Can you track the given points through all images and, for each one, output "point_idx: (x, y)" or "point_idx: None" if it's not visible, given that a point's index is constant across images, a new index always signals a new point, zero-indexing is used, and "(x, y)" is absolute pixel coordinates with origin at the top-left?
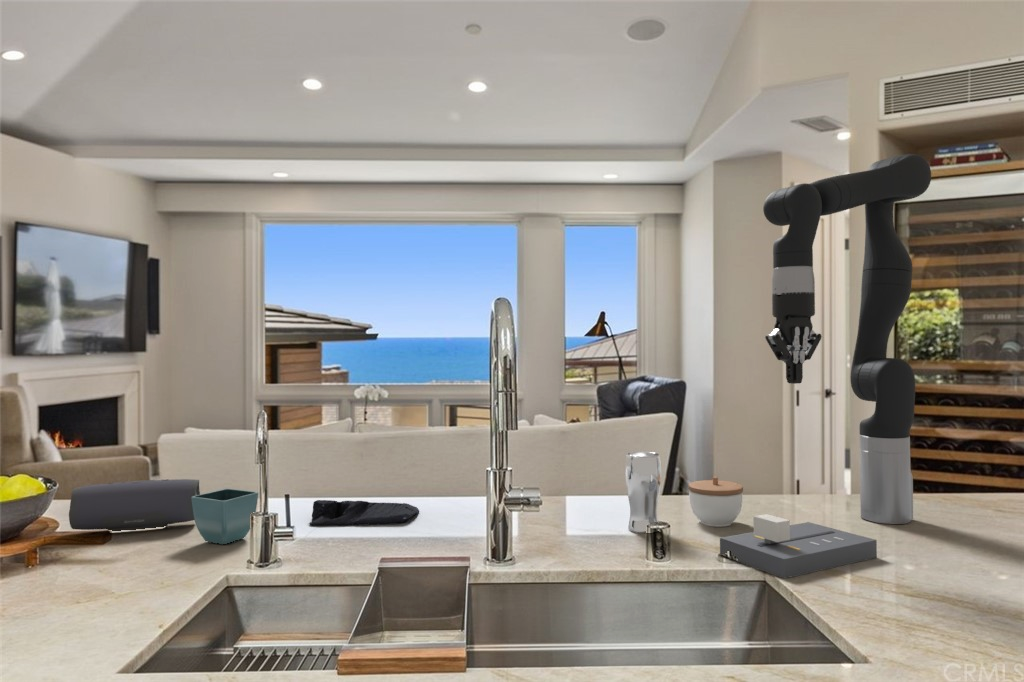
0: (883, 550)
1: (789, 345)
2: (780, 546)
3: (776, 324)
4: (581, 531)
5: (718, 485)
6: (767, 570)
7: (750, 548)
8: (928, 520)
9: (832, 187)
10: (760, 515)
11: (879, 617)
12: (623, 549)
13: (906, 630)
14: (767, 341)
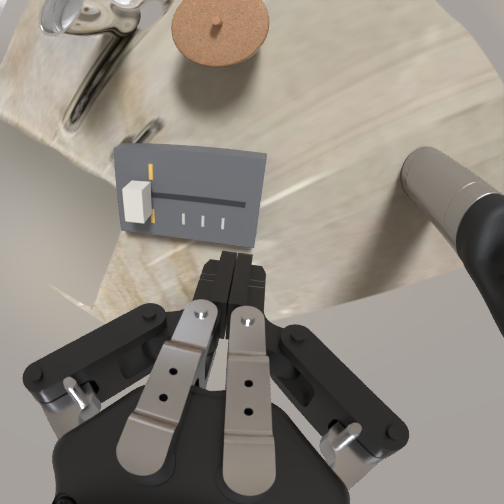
0: (287, 229)
1: (227, 378)
2: None
3: (58, 464)
4: None
5: (214, 31)
6: None
7: (117, 191)
8: None
9: None
10: (131, 191)
11: (133, 293)
12: (61, 82)
13: (133, 307)
14: (44, 358)
